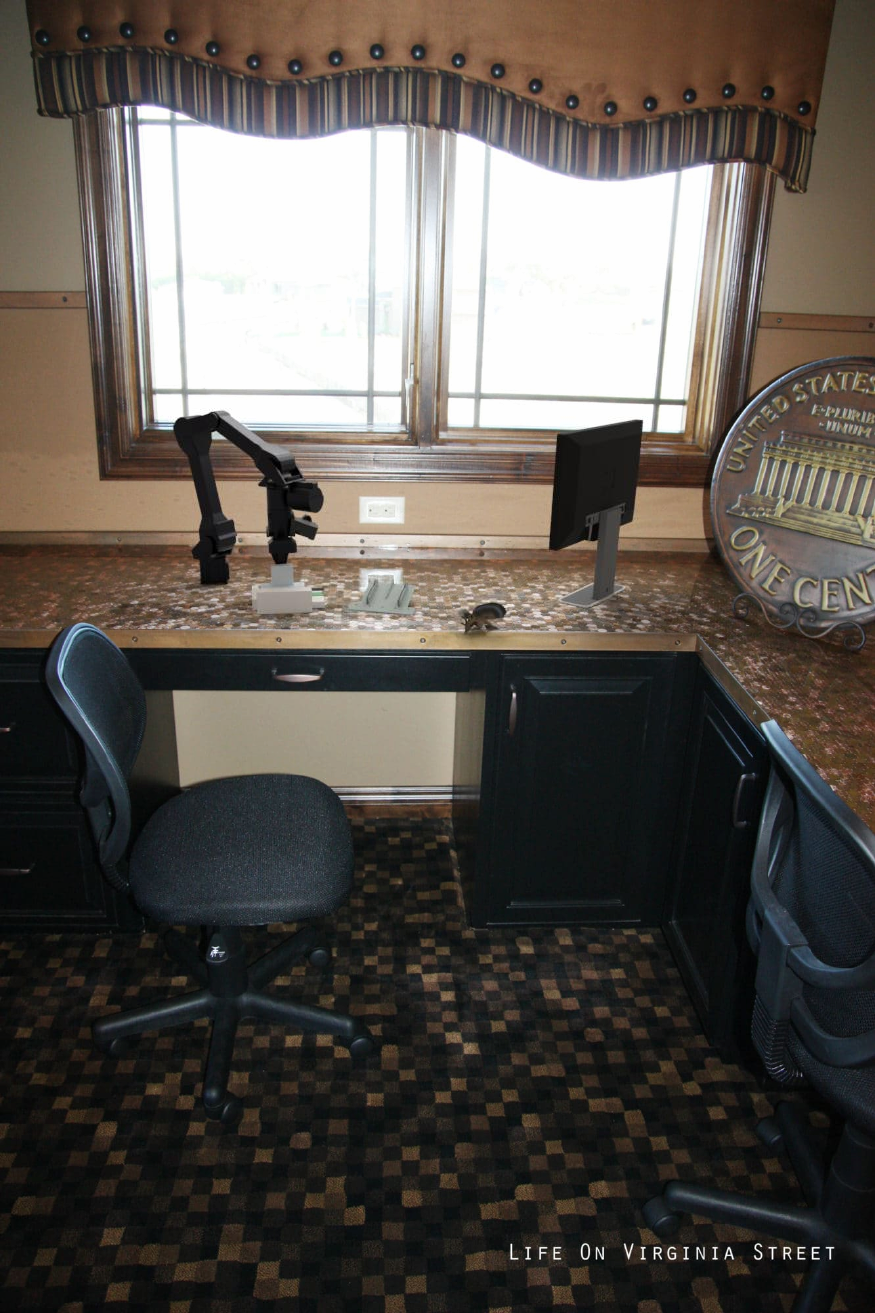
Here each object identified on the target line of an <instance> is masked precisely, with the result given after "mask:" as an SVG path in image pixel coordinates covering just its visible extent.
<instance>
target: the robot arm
mask: <svg viewBox="0 0 875 1313" xmlns="http://www.w3.org/2000/svg"><path fill="white" fill-rule="evenodd" d="M172 431H173V435H174V438H175V439H176V442H177V445H178V447H179V448H180V449H181V451H182V452H183V453H184V455H186V457H187V460H188V464H189V468H190V472H191V476H192V481H193V485H194V489H195V493H196V498H197V502H198V506H199V511H200V515H201V520H200V524H199V528H198V538H199V540H198V542H197V543H196V544H195V546H194V547H193V548H192V549H191V550H190V552H191V555H192V558H193V560H197V561H198V560H199V573H200V574H199V576H200V581H199V585H200V586H201V585H202V586H206V585H227V584H228V583H229V582H228V581H229V580H230V577H231V576H230V561H229V560H227V556H229V555H232V552H233V549H234V547H235V545H236V543H237V536H238V533H237V531H236V528H235V521H234V519H232V518H230V519H228V517H226V516H225V514H224V513H223V508H222V504H221V499H220V496H219V491H218V488H217V482H216V479H215V475H214V470H213V465H212V461H211V460H212V459H211V456H210V449H211V446H212V442H213V434H212V433H215V432H216V433H217V434H218V435H220V436H222V437H223V438H225V439H226V441H229V443H231V444H233V445H234V446H235V447H236V448H238V449H239V450H240V451H242V452H244V453H245V454H246V455H247V456H249V458H250V459H252V460H253V464H254V465H255V466H254V467H255V468H256V469H257V470H258V471H259V472H260V473H261V474H262V475H263V478H262V480H260V481H259V482H258V484H257V485H258V487H260V488H261V487H262V488H266V492H265V493H266V515H267V517H266V518H267V526H265V532H266V533H265V535H266V538H269V540H267V548H268V553H269V554H270V555H271V557H272V560H273V563H274V564H288V557H289V554H296V553H298V545H297V544H298V543H297V541H296V539H295V537H296V535H298V536H301V537H304V538H307V539H308V540H311V541H315V538H316V535H317V533H318V530H319V526H318V523H316V522H314V521H313V519H312V516H311V515H309V514H306V513H313V514H317V513H319V512H320V511H321V510H322V508H323V505H324V500H325V495H324V494H323V491H322V490H321V488H320V487H319V484H318V483H319V482H318V481H306V480H307V479H306V478H305V475H304V474H303V472H302V471H301V469H300V467H299V466H298V464H297V462H296V458H295V456H294V454H293V453H292V452H290V451H289V450H287V449H285V448H283V447H281V446H278V445H275V444H272V443H269V442H267V441H265V440H263V439H262V438H260V437H259V436H258V435H257V434H255V433H254V432H253V431H251V430H250V429H248V428H247V427H246V426H245V425H244V424H242V423H240V422H239V421H238V420H237V419H235V418H234V417H233V416H231V413H230V412H228V411H226V410H223V409H221V410H214V411H213V410H212V411H210V412H208V413H206V414H203V415H201V414H197V415H196V414H195V415H189V416H180V417H178V418H177V419H176V420H175V422H174V423H173V425H172ZM293 510H294V511H299V512H300V511H301V512H305V514H303V515H302V517H296V516H295V512H294V511H293ZM293 537H294V538H293Z"/></svg>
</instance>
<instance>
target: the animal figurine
mask: <svg viewBox="0 0 875 1313" xmlns="http://www.w3.org/2000/svg"><path fill="white" fill-rule="evenodd" d="M507 613H508V611H507V610H506V607H505V606H504V605H503V604H502V603H501V604H500V603H498V602H494V601H493V602H487V603H483V604H479V605H476V607H475V608H473V610H472V612H469V610H467V609H466V608H464V609H459V610H458V611H457V615H458V616H459V617H460V619H462V620H464V622H460V625H463V626H464V634H465V635H466V634H467V633H468V632H470V630H471V628H473V627H475V628H478V629H480V630H481V631H482V632H483V633H484V634H485V635H487V634H488V629H487V628H486V626H485V625H487V626H490V627H493V628H495V629H499V626H498V625H497V626H496V625H494V624H493V623H492V622H491V620H496V619H498V620H499V619H503V618H505V616H506V615H507Z"/></svg>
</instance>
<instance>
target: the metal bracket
mask: <svg viewBox="0 0 875 1313" xmlns="http://www.w3.org/2000/svg"><path fill="white" fill-rule="evenodd" d="M394 581H395V580H394V578H392V580H391V583H390V582H380V581H379V580H378V578H374V579H373V581H370V582H369V583H368V585H367V587H366V590H365V592H364V594H363V596H362V597H361V600H360V602H350V603H349V607H347V608H348V609H347V610H348V611H351V612H358V613H359V612H360V613H363V612H364V613H365V612H366V613H374V612H377V614H385V613H386V614H387V615H396V614H397V616H404V615H408V616H407V617H412V616H411V615H413V614H415V611H416V608H415V607H409V605H410V603H411V599H412V597H413V595H414V591H415V589H416V585H413V584H409V581H404V582H403V584H401V583H395V582H394ZM401 614H403V615H401ZM413 616H414V615H413Z"/></svg>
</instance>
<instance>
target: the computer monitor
mask: <svg viewBox="0 0 875 1313" xmlns="http://www.w3.org/2000/svg"><path fill="white" fill-rule="evenodd" d="M643 428H644V420H643V419H638V418H637V419H631V420H626V421H619V422H614V423H609V424H602V425H597V426H593V427H588V428H582V429H576V430H570V431H564V432H558V433H557V434H556V444H555V445H556V446H555V459H554V471H553V472H554V473H553V484H552V496H551V497H552V498H551V499H552V500H551V510H550V511H551V514H550V526H549V527H550V528H549V542H548V550H549V551H553V552H554V551H555V552H558V551H560V550H564V549H565V548H569V547H571V546H573V545H575V544H578V543H581V542H584V541H586V542H588V543H590V542H596V543H597V544H596V552H595V553H596V554H595V564H594V565H595V566H594V576H593V582H591V583H590V584H588V585H585V586H583V587H581V588H578V589H577V590H575V591H572V592H570V593H568V594H566V595H564V596H561V597H560V598H558V602H559V603H560V604H563V603H564V604H563V605H567V604H570V605H569V606H572V605H573V607H576V606H579V607H578V608H581V607H582V608H584V609H587V608H588V609H589V607H590V608H592V606H593V607H594V605H595V606H596V605H598V604H600V603H602V602H604V601H606V600H608V599H609V598H612V597H614V596H616V595H618V594H619V593H622V592H624V591H625V590H626V587H625V586H624V585H622V584H617V583H616V584H615V582H616V581H615V580H616V569H617V561H618V560H617V559H618V552H619V550H618V548H619V539H620V530H621V527H622V526H625V525H627V524H630V523H632V522H633V520H634V513H635V506H636V496H637V486H638V480H639V479H638V476H639V469H640V458H641V449H642V440H643ZM621 591H622V592H621ZM617 593H618V594H617ZM613 595H614V596H613ZM582 608H581V609H582Z"/></svg>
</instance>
